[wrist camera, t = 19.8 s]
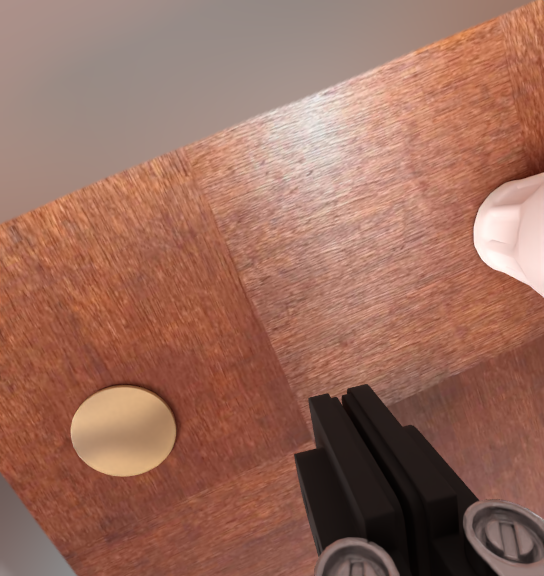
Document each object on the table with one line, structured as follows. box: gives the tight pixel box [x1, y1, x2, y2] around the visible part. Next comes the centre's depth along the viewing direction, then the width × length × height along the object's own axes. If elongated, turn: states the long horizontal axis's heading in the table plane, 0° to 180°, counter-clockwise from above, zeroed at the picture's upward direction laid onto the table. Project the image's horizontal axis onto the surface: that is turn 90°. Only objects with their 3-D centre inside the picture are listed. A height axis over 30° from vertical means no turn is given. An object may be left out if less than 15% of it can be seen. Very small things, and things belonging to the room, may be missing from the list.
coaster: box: [71, 385, 177, 476], centre depth 33 cm, size 9×9×1 cm
